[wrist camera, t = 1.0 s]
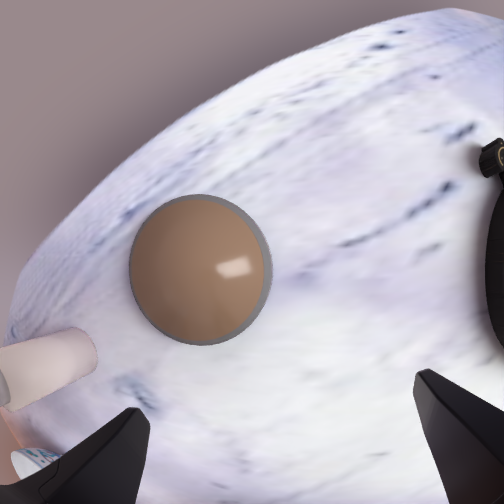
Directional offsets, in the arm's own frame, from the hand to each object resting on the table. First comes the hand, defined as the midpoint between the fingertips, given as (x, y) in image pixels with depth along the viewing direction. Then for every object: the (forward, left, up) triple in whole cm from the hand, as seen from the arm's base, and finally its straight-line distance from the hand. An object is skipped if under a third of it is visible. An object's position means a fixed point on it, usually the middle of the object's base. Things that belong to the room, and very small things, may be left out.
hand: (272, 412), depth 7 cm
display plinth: (+1, +8, -14) cm, 16 cm away
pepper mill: (-12, +18, -14) cm, 26 cm away
